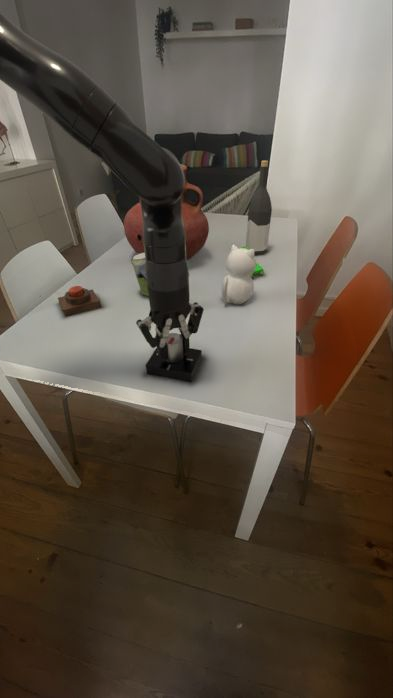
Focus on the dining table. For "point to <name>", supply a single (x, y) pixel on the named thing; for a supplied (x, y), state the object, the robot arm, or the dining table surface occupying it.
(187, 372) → the panel
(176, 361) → the hob knob
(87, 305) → the button block
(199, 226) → the clay pot
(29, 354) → the dining table surface
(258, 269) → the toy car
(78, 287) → the button
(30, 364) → the dining table surface
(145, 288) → the beverage can
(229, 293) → the cat figurine
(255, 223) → the wine bottle
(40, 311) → the dining table surface
